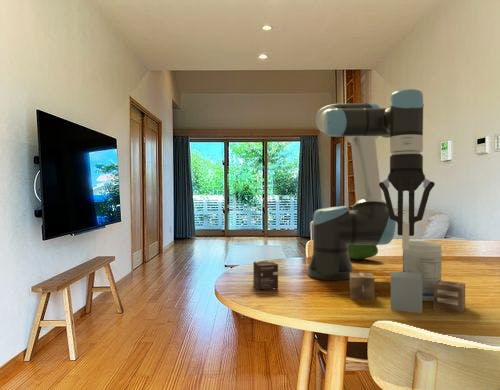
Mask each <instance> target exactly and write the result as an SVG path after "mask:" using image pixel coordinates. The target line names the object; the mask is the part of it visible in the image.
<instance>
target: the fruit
mask: <svg viewBox="0 0 500 390" xmlns="http://www.w3.org/2000/svg"><path fill="white" fill-rule="evenodd" d="M378 253H379V249H378V245H377V246H375V245H348V255H349V258H350V260H351V259H352V260H357V261H358V260H364V259H369V258H372V257H373V258H374V257H375V256H376V255H378Z"/></svg>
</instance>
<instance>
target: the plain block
mask: <svg viewBox="0 0 500 390" xmlns="http://www.w3.org/2000/svg"><path fill="white" fill-rule="evenodd" d="M390 310H391V311H400V312H409V313H419V314H423V301H422V277H421V273H409V272H403V271H394V270H391V271H390Z"/></svg>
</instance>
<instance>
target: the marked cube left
mask: <svg viewBox="0 0 500 390" xmlns="http://www.w3.org/2000/svg"><path fill="white" fill-rule="evenodd" d="M353 272H354V271H353ZM353 272H350V279H349V296H350V300H354V301H371V302H375V300H376V299H375V287H376V286H375V276H374V274H373V273H371V272H354V273H353Z"/></svg>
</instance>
